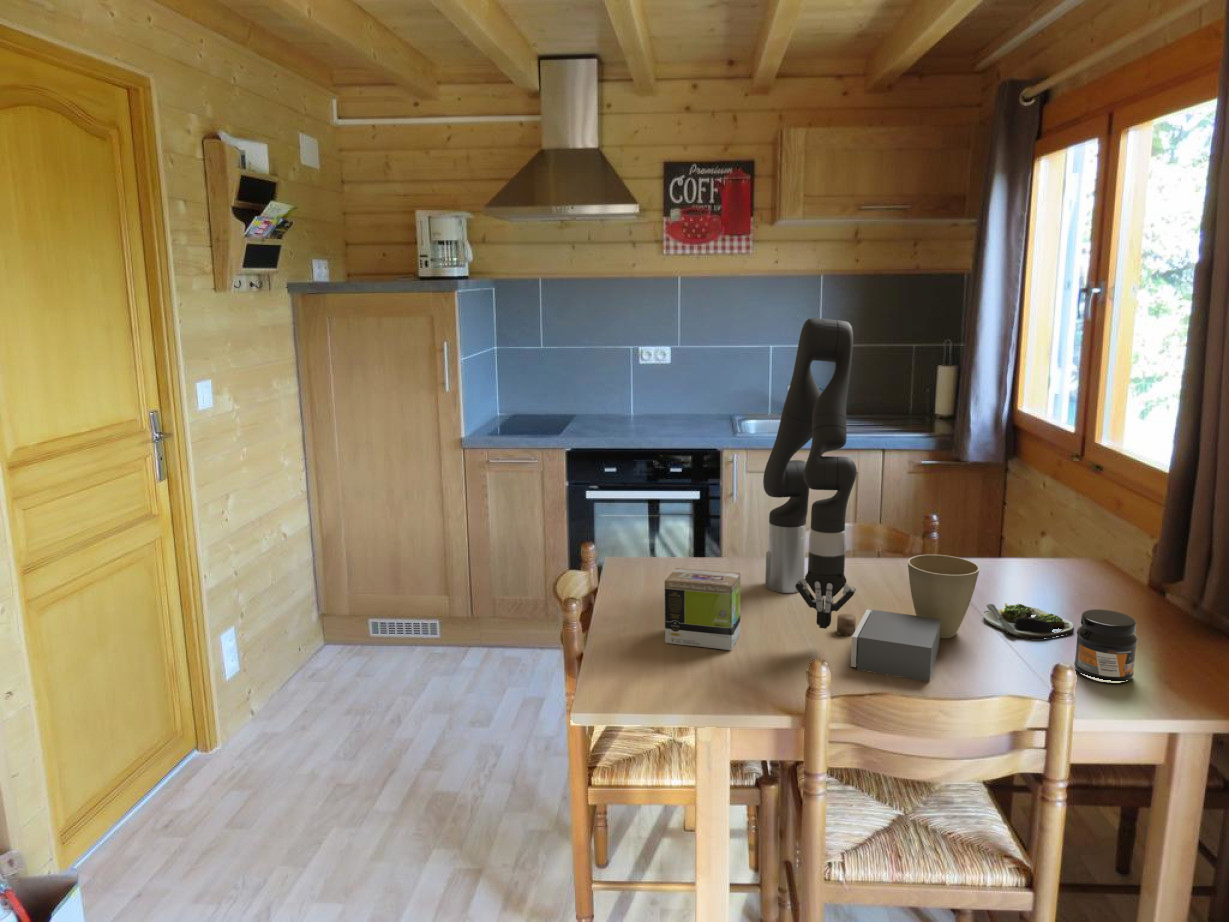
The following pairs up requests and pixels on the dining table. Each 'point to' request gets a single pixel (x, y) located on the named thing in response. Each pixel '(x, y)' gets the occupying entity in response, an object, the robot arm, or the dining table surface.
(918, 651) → the block
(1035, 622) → the salad plate
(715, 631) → the tea box
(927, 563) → the plant pot
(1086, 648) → the supplement container
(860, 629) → the tray
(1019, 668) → the dining table surface
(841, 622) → the pedestal
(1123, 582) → the dining table surface
